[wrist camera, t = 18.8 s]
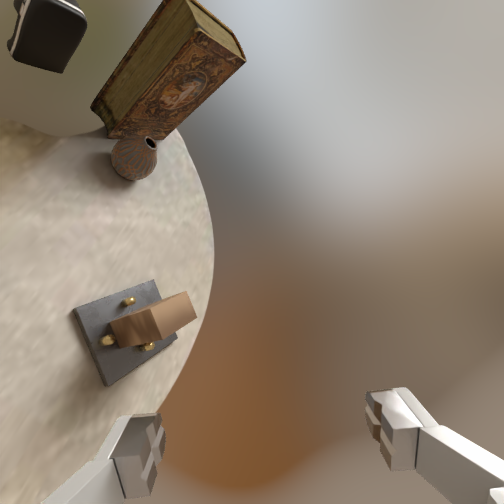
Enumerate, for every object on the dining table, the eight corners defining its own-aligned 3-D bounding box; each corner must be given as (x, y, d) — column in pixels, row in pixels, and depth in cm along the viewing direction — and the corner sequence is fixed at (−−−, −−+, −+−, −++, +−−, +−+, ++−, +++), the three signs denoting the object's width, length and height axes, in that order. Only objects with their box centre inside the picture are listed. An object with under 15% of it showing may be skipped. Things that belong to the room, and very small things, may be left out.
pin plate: (72, 309, 31) (82, 304, 29) (150, 280, 41) (160, 276, 40) (105, 386, 31) (116, 385, 30) (174, 338, 41) (185, 336, 40)
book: (154, 117, 56) (234, 33, 43) (167, 139, 57) (249, 63, 44) (87, 109, 42) (174, -19, 29) (105, 139, 43) (197, 28, 30)
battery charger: (51, 54, 40) (79, -6, 34) (63, 76, 40) (93, 21, 35) (-4, 35, 34) (19, -40, 28) (11, 61, 35) (36, -8, 29)
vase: (108, 181, 41) (136, 154, 36) (101, 146, 42) (126, 115, 37) (145, 188, 47) (172, 166, 42) (137, 157, 48) (163, 132, 43)
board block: (109, 322, 33) (150, 308, 28) (146, 305, 38) (186, 291, 33) (120, 348, 33) (162, 339, 28) (155, 328, 38) (197, 317, 33)
